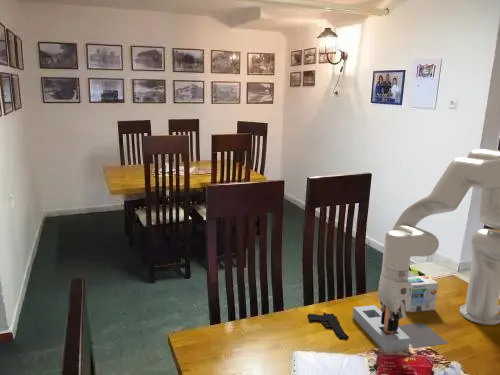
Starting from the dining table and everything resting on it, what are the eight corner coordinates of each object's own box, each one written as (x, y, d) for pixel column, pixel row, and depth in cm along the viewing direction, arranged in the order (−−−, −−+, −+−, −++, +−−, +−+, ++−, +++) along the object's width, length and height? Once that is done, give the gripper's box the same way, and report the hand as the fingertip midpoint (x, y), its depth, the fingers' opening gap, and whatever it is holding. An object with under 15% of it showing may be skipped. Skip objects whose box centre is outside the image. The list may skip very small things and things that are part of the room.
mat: (422, 323, 133) (423, 322, 133) (448, 344, 121) (448, 343, 121) (391, 327, 130) (391, 326, 130) (414, 349, 118) (414, 348, 118)
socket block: (373, 315, 137) (374, 305, 136) (408, 349, 118) (410, 338, 117) (352, 317, 135) (353, 307, 134) (385, 353, 116) (386, 341, 115)
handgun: (306, 312, 137) (333, 311, 138) (306, 316, 137) (333, 314, 138) (319, 339, 121) (349, 337, 123) (318, 342, 122) (349, 340, 123)
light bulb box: (409, 313, 139) (412, 285, 137) (398, 303, 145) (401, 277, 143) (435, 310, 141) (439, 282, 139) (424, 301, 148) (427, 274, 145)
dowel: (389, 331, 123) (392, 302, 121) (395, 337, 120) (398, 307, 118) (381, 332, 122) (384, 303, 120) (386, 338, 120) (389, 308, 117)
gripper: (423, 282, 110) (416, 340, 114) (390, 260, 125) (385, 312, 129) (400, 285, 108) (393, 344, 112) (369, 262, 124) (364, 314, 128)
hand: (389, 326), depth 121 cm, fingers closed on dowel, 2 cm apart
